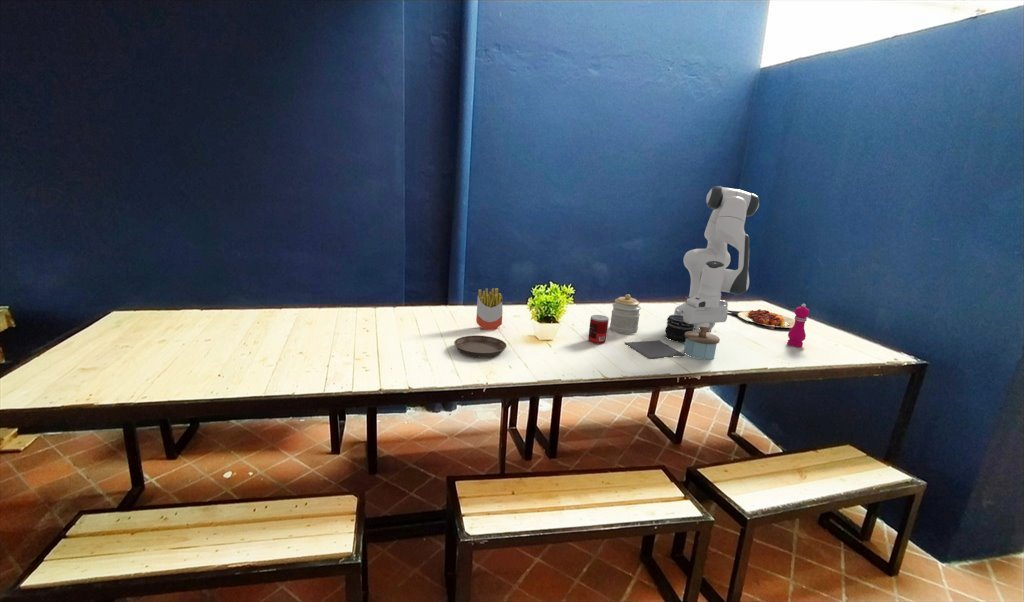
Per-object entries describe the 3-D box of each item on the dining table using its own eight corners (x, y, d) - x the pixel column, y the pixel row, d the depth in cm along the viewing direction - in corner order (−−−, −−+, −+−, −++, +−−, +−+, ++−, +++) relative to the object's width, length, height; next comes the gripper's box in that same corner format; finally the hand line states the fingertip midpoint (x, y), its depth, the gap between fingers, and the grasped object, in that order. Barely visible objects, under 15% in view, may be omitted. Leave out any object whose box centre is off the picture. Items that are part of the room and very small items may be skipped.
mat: (624, 343, 226) (624, 342, 226) (659, 341, 233) (659, 340, 232) (648, 358, 210) (649, 357, 210) (685, 356, 216) (685, 354, 216)
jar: (628, 325, 253) (633, 290, 248) (642, 334, 241) (647, 297, 237) (604, 326, 249) (608, 290, 244) (618, 335, 237) (622, 298, 232)
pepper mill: (805, 348, 238) (815, 306, 233) (788, 346, 239) (798, 304, 234) (800, 343, 245) (809, 302, 240) (784, 341, 246) (793, 300, 241)
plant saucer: (471, 338, 219) (472, 331, 218) (515, 349, 210) (515, 341, 210) (443, 352, 202) (443, 344, 201) (489, 365, 193) (490, 356, 192)
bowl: (678, 349, 223) (680, 334, 222) (700, 348, 228) (703, 333, 226) (696, 360, 212) (699, 344, 211) (720, 358, 217) (723, 342, 215)
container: (678, 333, 247) (682, 313, 244) (698, 342, 236) (702, 321, 233) (658, 335, 241) (661, 314, 239) (677, 344, 230) (681, 323, 228)
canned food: (607, 340, 229) (610, 316, 226) (603, 345, 222) (606, 321, 219) (591, 337, 232) (593, 313, 229) (585, 342, 225) (588, 317, 222)
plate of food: (720, 310, 294) (723, 298, 292) (782, 317, 293) (785, 305, 291) (741, 328, 264) (745, 315, 262) (810, 336, 263) (814, 323, 261)
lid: (677, 333, 222) (679, 322, 221) (703, 332, 227) (705, 321, 226) (699, 345, 209) (701, 333, 208) (726, 343, 214) (728, 331, 213)
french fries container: (501, 329, 233) (504, 290, 228) (478, 330, 230) (480, 290, 225) (499, 326, 237) (501, 288, 232) (475, 326, 234) (478, 288, 229)
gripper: (722, 298, 220) (717, 329, 224) (683, 299, 213) (678, 331, 217) (733, 302, 215) (727, 333, 218) (693, 303, 208) (688, 336, 211)
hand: (702, 332), depth 218 cm, fingers open, 4 cm apart
